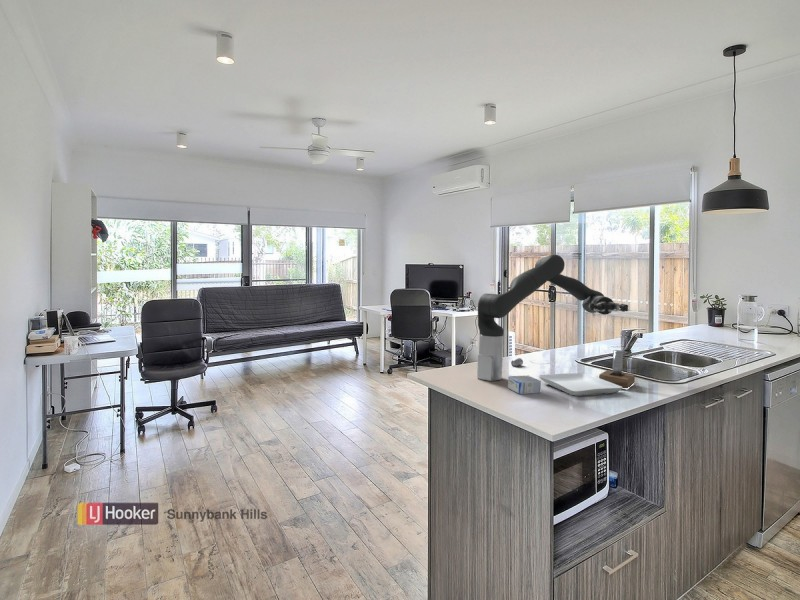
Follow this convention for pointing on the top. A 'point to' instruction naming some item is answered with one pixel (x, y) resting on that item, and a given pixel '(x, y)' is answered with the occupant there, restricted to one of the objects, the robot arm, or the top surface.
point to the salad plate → (580, 383)
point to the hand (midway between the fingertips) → (612, 308)
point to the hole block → (618, 378)
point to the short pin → (517, 362)
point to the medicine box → (524, 384)
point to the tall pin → (617, 363)
